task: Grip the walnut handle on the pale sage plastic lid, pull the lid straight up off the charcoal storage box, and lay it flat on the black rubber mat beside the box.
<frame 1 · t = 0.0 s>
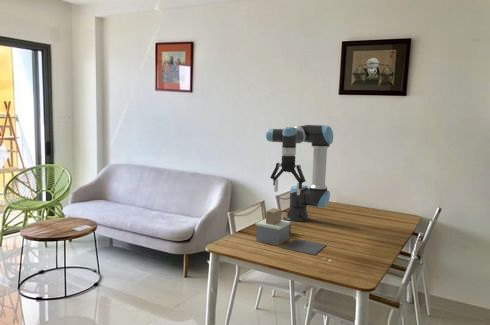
hand: (287, 193, 219), 28 cm above the table, tool pointing down, fingers open, 13 cm apart
mat: (304, 247, 214), on the table
lid: (273, 224, 224), point 9 cm above the table, touching storage box
grey curved piece: (283, 233, 237), on the table
storage box: (272, 239, 225), on the table
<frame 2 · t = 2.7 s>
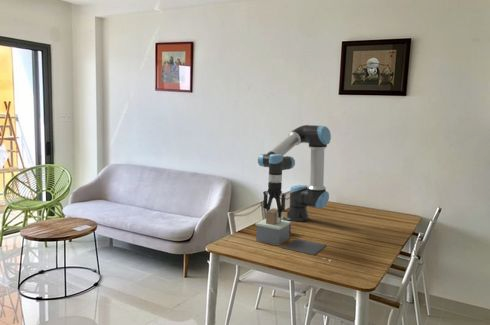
hand: (273, 221, 224), 10 cm above the table, tool pointing down, fingers closed on lid, 5 cm apart
lid: (273, 224, 224), point 9 cm above the table, touching gripper, storage box
everything else where it was.
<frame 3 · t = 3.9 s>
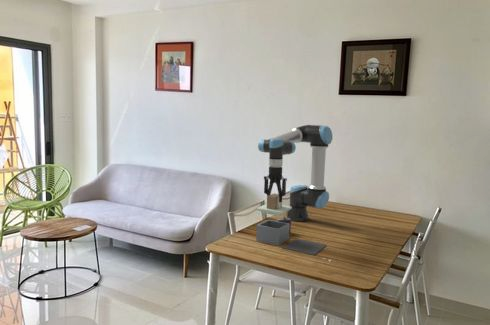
hand: (274, 206, 223), 19 cm above the table, tool pointing down, fingers closed on lid, 5 cm apart
lid: (274, 209, 223), point 18 cm above the table, touching gripper
everything else where it was.
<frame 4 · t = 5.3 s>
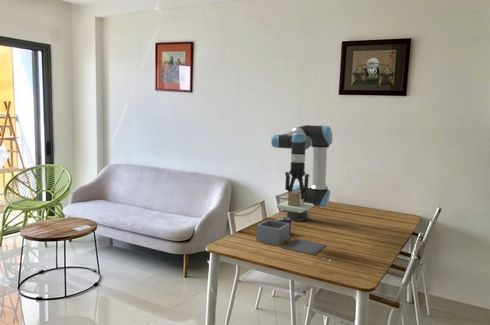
hand: (295, 203, 215), 23 cm above the table, tool pointing down, fingers closed on lid, 5 cm apart
lid: (295, 206, 215), point 22 cm above the table, touching gripper
everything else where it was.
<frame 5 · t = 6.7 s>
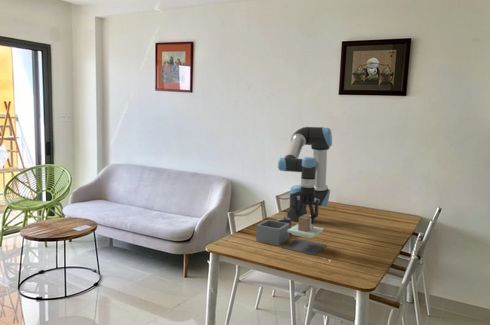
hand: (305, 228, 213), 10 cm above the table, tool pointing down, fingers closed on lid, 5 cm apart
lid: (305, 231, 213), point 9 cm above the table, touching gripper
everything else where it was.
when the fingers open (5 cm above the table, at t = 8.0 s): lid drops 1 cm, resting on mat.
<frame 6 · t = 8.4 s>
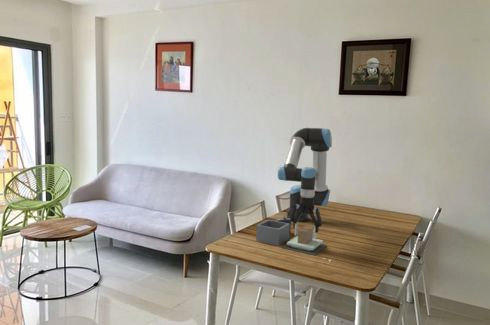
hand: (305, 236, 214), 6 cm above the table, tool pointing down, fingers open, 10 cm apart
lid: (304, 243, 214), point 2 cm above the table, touching mat
everything else where it was.
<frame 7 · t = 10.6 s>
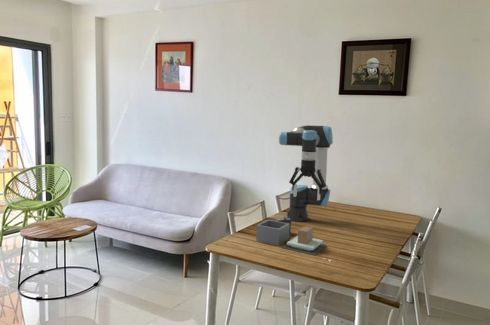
hand: (306, 198, 213), 27 cm above the table, tool pointing down, fingers open, 13 cm apart
nothing on the table moved.
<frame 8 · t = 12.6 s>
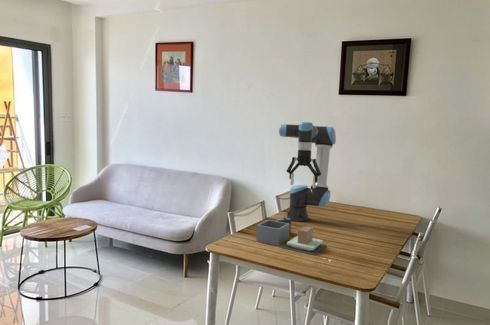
hand: (302, 186, 226), 31 cm above the table, tool pointing down, fingers open, 13 cm apart
nothing on the table moved.
at the end: lid inside the target area on the mat (0.0 cm from its centre), point 2.0 cm above the mat's base; lid tilted 0°; the gripper is holding nothing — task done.
